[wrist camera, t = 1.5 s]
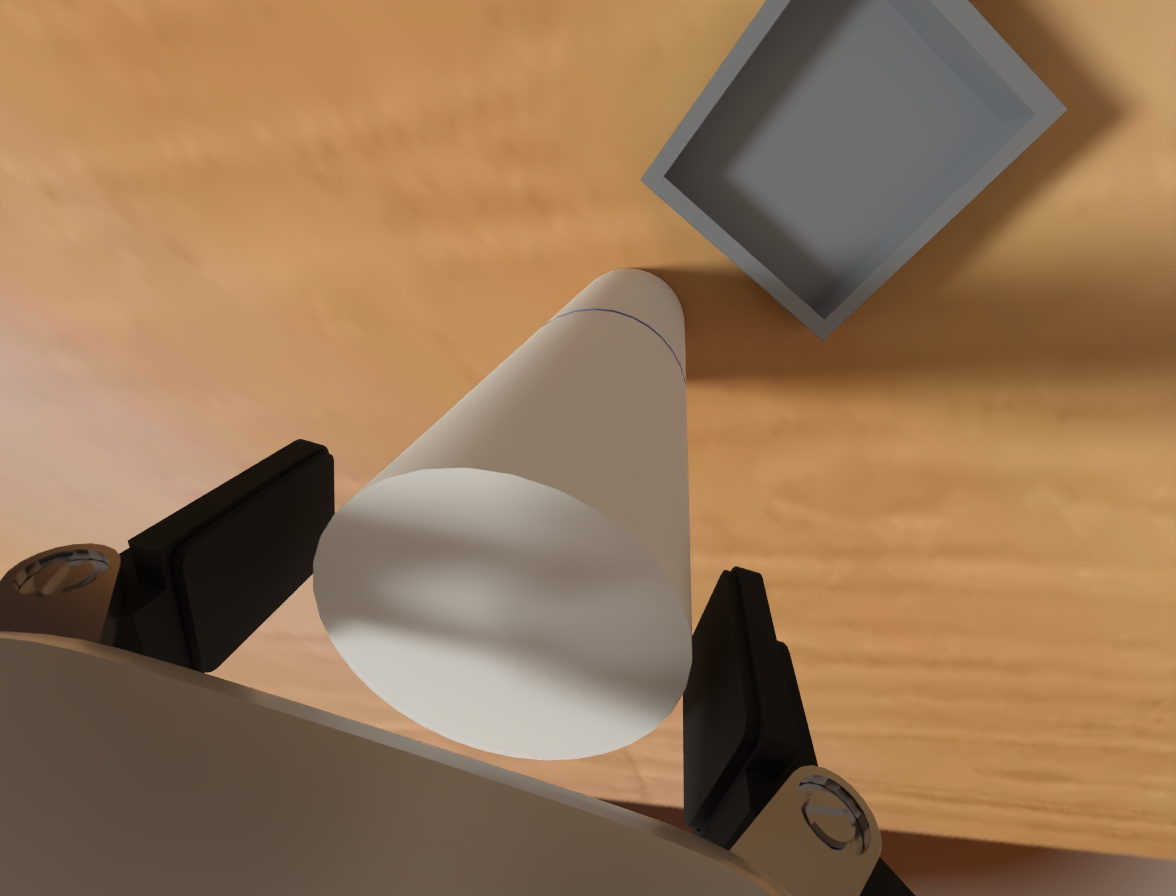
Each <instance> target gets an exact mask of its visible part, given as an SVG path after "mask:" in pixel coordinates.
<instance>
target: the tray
mask: <svg viewBox="0 0 1176 896" xmlns="http://www.w3.org/2000/svg"><path fill="white" fill-rule="evenodd" d="M1067 110H1068V109H1067V108H1066V107H1065V106H1064V105H1063V104H1062V102H1061V101H1060V100H1059V99H1058V98H1057V97H1056V96H1055V95H1054V94H1053V93H1052V91H1051V90H1050V89H1049V88H1048V87H1047V86H1046V85H1045V84H1044V83H1043V82H1042V81H1041V79H1040V78H1039V77H1038V76H1037V75H1036V74H1035V73H1034V72H1033V71H1032V70H1031V68H1030V67H1029V66H1028V65H1027V64H1026V63H1025V62H1024V61H1023V60H1022V59H1021V58H1020V56H1019V55H1018V54H1017V53H1016V52H1015V51H1014V50H1013V49H1012V48H1011V47H1010V45H1009V44H1008V43H1007V42H1006V41H1005V40H1004V39H1003V38H1002V37H1001V36H1000V35H999V33H998V32H997V31H996V30H995V29H994V28H993V27H992V26H991V25H990V24H989V22H988V21H987V20H986V19H985V18H984V17H983V16H982V15H981V14H980V13H979V12H978V10H977V9H976V8H975V7H974V6H973V5H972V4H971V3H970V2H969V1H968V0H766V2H765V3H764V5H763V6H762V7H761V9H760V10H759V12H758V13H757V15H756V16H755V17H754V19H753V20H752V22H751V23H750V25H749V26H748V27H747V29H746V30H745V32H744V33H743V35H742V36H741V37H740V39H739V40H738V42H737V43H736V45H735V46H734V47H733V49H732V50H731V52H730V53H729V54H728V56H727V57H726V59H725V60H724V62H723V63H722V64H721V66H720V67H719V69H718V70H717V72H716V73H715V74H714V76H713V77H712V79H711V80H710V82H709V83H708V84H707V86H706V87H705V89H704V90H703V92H702V93H701V94H700V96H699V97H698V99H697V100H696V102H695V103H694V104H693V106H692V107H691V109H690V110H689V112H688V113H687V114H686V116H685V117H684V119H683V120H682V122H681V123H680V124H679V126H678V127H677V129H676V130H675V132H674V133H673V134H672V136H671V137H670V139H669V140H668V141H667V143H666V144H665V146H664V147H663V149H662V150H661V151H660V153H659V154H658V156H657V157H656V159H655V160H654V161H653V163H652V164H651V166H650V167H649V169H648V170H647V171H646V173H645V174H644V176H643V177H642V179H641V181H642V182H643V183H644V184H645V185H646V186H647V187H649V188H650V189H651V190H652V191H653V192H654V193H655V194H657V195H658V196H659V197H660V198H661V199H662V200H663V201H665V202H666V203H667V204H668V205H669V206H670V207H671V208H672V209H674V210H675V211H676V212H677V213H678V214H679V215H680V216H682V217H683V218H684V219H685V220H686V221H687V222H688V223H689V224H691V225H692V226H693V227H694V228H695V229H696V230H697V231H699V232H700V233H701V234H702V235H703V236H704V237H705V238H706V239H708V240H709V241H710V242H711V243H712V244H713V245H714V246H716V247H717V248H718V249H719V250H720V251H721V252H722V253H724V254H725V255H726V256H727V257H728V258H729V259H730V260H731V261H733V262H734V263H735V264H736V265H737V266H738V267H739V268H741V269H742V270H743V271H744V272H745V273H746V274H747V275H748V276H750V277H751V278H752V279H753V280H754V281H755V282H756V283H758V284H759V285H760V286H761V287H762V288H763V289H764V290H766V291H767V292H768V293H769V294H770V295H771V296H772V297H773V298H775V299H776V300H777V301H778V302H779V303H780V304H781V305H783V306H784V307H785V308H786V309H787V310H788V311H789V312H790V313H792V314H793V315H794V316H795V317H796V318H797V319H798V320H800V321H801V322H802V323H803V324H804V325H805V326H806V327H808V328H809V329H810V330H811V331H812V332H813V333H814V334H815V335H817V336H818V337H819V338H820V339H821V340H822V341H824V340H825V339H826V338H827V337H828V336H829V335H830V334H831V333H832V332H833V331H834V330H835V329H836V328H837V327H839V326H840V325H841V324H842V323H843V322H844V321H845V320H846V319H847V318H848V317H849V316H850V315H851V314H852V313H853V312H854V311H855V310H856V309H858V308H859V307H860V306H861V305H862V304H863V303H864V302H865V301H866V300H867V299H868V298H869V297H870V296H871V295H872V294H873V293H874V292H875V291H877V290H878V289H879V288H880V287H881V286H882V285H883V284H884V283H885V282H886V281H887V280H888V279H889V278H890V277H891V276H892V275H893V274H894V273H896V272H897V271H898V270H899V269H900V268H901V267H902V266H903V265H904V264H905V263H906V262H907V261H908V260H909V259H910V258H911V257H912V256H914V255H915V254H916V253H917V252H918V251H919V250H920V249H921V248H922V247H923V246H924V245H925V244H926V243H927V242H928V241H929V240H930V239H931V238H933V237H934V236H935V235H936V234H937V233H938V232H939V231H940V230H941V229H942V228H943V227H944V226H945V225H946V224H947V223H948V222H949V221H950V220H952V219H953V218H954V217H955V216H956V215H957V214H958V213H959V212H960V211H961V210H962V209H963V208H964V207H965V206H966V205H967V204H968V203H969V202H971V201H972V200H973V199H974V198H975V197H976V196H977V195H978V194H979V193H980V192H981V191H982V190H983V189H984V188H985V187H986V186H987V185H988V184H990V183H991V182H992V181H993V180H994V179H995V178H996V177H997V176H998V175H999V174H1000V173H1001V172H1002V171H1003V170H1004V169H1005V168H1006V167H1007V166H1009V165H1010V164H1011V163H1012V162H1013V161H1014V160H1015V159H1016V158H1017V157H1018V156H1019V155H1020V154H1021V153H1022V152H1023V151H1024V150H1025V149H1026V148H1028V147H1029V146H1030V145H1031V144H1032V143H1033V142H1034V141H1035V140H1036V139H1037V138H1038V137H1039V136H1040V135H1041V134H1042V133H1043V132H1044V131H1045V130H1047V129H1048V128H1049V127H1050V126H1051V125H1052V124H1053V123H1054V122H1055V121H1056V120H1057V119H1058V118H1059V117H1060V116H1061V115H1062V114H1063V113H1064V112H1066V111H1067Z"/></svg>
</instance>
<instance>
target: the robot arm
mask: <svg viewBox="0 0 1176 896" xmlns="http://www.w3.org/2000/svg"><path fill="white" fill-rule="evenodd" d="M334 514H335V507H334V459H333V456H332V455H331V454H329V452H328V449H327V447H325V446H323V445H320V444H317V443H313V442H310V441H306V440H303V439H298V440H296V441H294V442H292V443H291V444H289V445H287V446H286V447H284V448H282V449H281V450H279V451H277V452H276V453H274V454H272V455H270V456H269V457H267V458H265V459H264V460H262V461H260V462H259V463H257V464H255V465H254V466H252V467H250V468H249V469H247V470H245V471H244V472H242V473H240V474H239V475H237V476H235V477H234V478H232V479H230V480H229V481H227V482H225V483H224V484H222V485H220V486H219V487H217V488H215V489H214V490H212V491H210V492H208V493H207V494H205V495H203V496H202V497H200V498H198V499H197V500H195V501H193V502H192V503H190V504H188V505H187V506H185V507H183V508H182V509H180V510H178V511H177V512H175V513H173V514H172V515H170V516H168V517H167V518H165V519H163V520H162V521H160V522H158V523H157V524H155V525H153V526H152V527H150V528H148V529H146V530H145V531H143V532H141V533H140V534H138V535H136V536H135V537H133V538H131V539H130V540H128V543H129V547H130V548H128V549H127V550H125V551H123V552H122V553H120V554H118V553H117V551H116V550H115V549H113V548H110V547H108V546H105V545H99V544H91V543H89V544H73V545H68V546H62V547H57V548H53V549H50V550H47V551H44V552H41V553H38V554H36V555H34V556H32V557H29V558H27V559H25V560H23V561H21V562H20V563H18V564H17V565H16V566H14V567H13V568H11V569H10V570H9V571H8V572H7V573H6V574H5V575H4V577H3V578H2V579H1V580H0V896H915V895H914V894H913V893H912V892H911V891H910V889H909V888H908V887H907V886H906V885H905V884H904V883H903V882H902V881H901V880H900V878H899V877H898V876H897V875H896V874H895V873H894V872H893V871H892V870H891V869H890V868H889V866H888V865H887V864H886V863H885V862H884V861H883V860H882V859H881V858H880V857H879V855H880V851H881V847H882V845H881V837H880V830H879V828H878V825H877V823H876V820H875V817H874V815H873V813H872V812H871V810H870V808H869V807H868V805H867V804H866V802H865V801H864V799H863V798H862V797H861V796H860V795H859V793H858V792H857V791H856V790H855V789H854V788H853V787H852V786H851V785H850V784H849V783H848V782H846V781H845V780H844V779H843V778H841V777H840V776H839V775H837V774H835V773H833V772H831V771H829V770H827V769H826V768H822V767H818V764H817V760H816V756H815V752H814V748H813V744H812V740H811V736H810V732H809V728H808V724H807V720H806V716H805V712H804V708H803V704H802V700H801V696H800V692H799V688H798V684H797V680H796V676H795V672H794V668H793V664H792V660H791V656H790V653H789V650H788V647H787V646H786V645H785V644H784V643H783V642H780V641H777V639H776V635H775V630H774V626H773V622H772V617H771V613H770V608H769V604H768V600H767V595H766V591H765V587H764V582H763V578H762V575H761V574H760V573H757V572H754V571H750V570H747V569H744V568H740V567H737V566H736V567H734V568H733V569H732V570H731V571H727V570H724V571H723V572H722V574H721V576H720V578H719V580H718V582H717V585H716V587H715V589H714V591H713V593H712V595H711V597H710V599H709V602H708V604H707V606H706V608H705V610H704V612H703V614H702V617H701V619H700V621H699V623H698V625H697V627H696V629H695V632H694V634H693V636H692V664H691V669H690V673H689V677H688V681H687V685H686V689H685V691H684V692H683V753H684V820H685V824H686V825H687V826H689V827H692V828H693V834H691V833H689V832H686V831H684V830H682V829H679V828H677V827H674V826H672V825H669V824H667V823H664V822H661V821H658V820H656V819H653V818H650V817H647V816H644V815H641V814H638V813H635V812H632V811H630V810H627V809H624V808H621V807H618V806H615V805H612V804H609V803H606V802H604V801H601V800H598V799H595V798H592V797H589V796H586V795H583V794H580V793H577V792H574V791H571V790H568V789H565V788H562V787H559V786H556V785H553V784H550V783H547V782H544V781H541V780H537V779H534V778H531V777H528V776H525V775H522V774H519V773H516V772H513V771H510V770H507V769H504V768H501V767H498V766H494V765H491V764H488V763H485V762H482V761H479V760H476V759H473V758H470V757H467V756H464V755H461V754H458V753H454V752H451V751H448V750H445V749H442V748H439V747H436V746H433V745H429V744H426V743H423V742H420V741H417V740H414V739H411V738H408V737H404V736H401V735H398V734H395V733H392V732H389V731H386V730H383V729H379V728H376V727H373V726H370V725H367V724H364V723H361V722H357V721H354V720H351V719H348V718H345V717H342V716H339V715H335V714H332V713H329V712H326V711H323V710H320V709H317V708H313V707H310V706H307V705H304V704H301V703H297V702H294V701H291V700H288V699H285V698H282V697H278V696H275V695H272V694H269V693H266V692H262V691H259V690H256V689H253V688H250V687H246V686H243V685H240V684H237V683H234V682H230V681H227V680H224V679H221V678H218V677H214V676H211V675H208V674H205V672H207V673H208V672H212V671H214V670H215V669H216V668H218V667H219V666H220V665H221V664H222V663H223V662H224V661H225V660H226V659H227V658H228V657H229V656H230V655H231V654H232V653H233V652H234V651H235V650H236V649H237V648H238V647H239V646H240V645H241V644H242V643H243V642H244V641H245V640H246V639H247V638H248V637H249V636H250V635H251V634H252V633H253V632H254V631H255V630H256V629H257V628H258V627H259V626H260V625H261V624H262V623H263V622H264V621H265V620H266V619H267V618H268V617H269V616H270V615H271V614H272V613H273V612H274V611H275V610H277V609H278V608H279V607H280V606H281V605H282V604H283V603H284V602H285V601H286V600H287V599H288V598H289V597H290V596H291V595H292V594H293V593H294V592H295V591H296V590H297V589H298V588H299V587H300V586H301V585H302V584H303V583H304V582H305V581H306V580H307V579H308V578H309V577H310V576H311V575H312V574H313V561H314V558H315V554H316V551H317V547H318V544H319V540H320V536H321V535H322V533H323V531H324V530H325V528H326V527H327V525H328V523H329V522H330V520H331V519H332V517H333V515H334Z"/></svg>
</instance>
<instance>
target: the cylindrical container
mask: <svg viewBox="0 0 1176 896" xmlns="http://www.w3.org/2000/svg"><path fill="white" fill-rule="evenodd" d="M313 591H314V595H315V599H316V603H317V607H318V611H319V615H320V618H321V620H322V622H323V624H324V626H325V628H326V630H327V632H328V635H329V637H330V639H331V641H332V643H333V645H334V646H335V648H336V649H337V650H338V652H339V653H340V654H341V656H342V657H343V659H344V660H345V661H346V663H347V664H348V665H349V667H350V668H351V669H352V671H353V672H354V673H355V674H356V675H357V676H358V677H359V678H360V679H361V680H362V681H363V682H364V683H365V684H366V685H367V686H368V687H369V688H370V689H371V690H372V691H373V692H374V693H376V694H377V695H378V696H379V697H381V698H382V699H383V700H384V701H386V702H387V703H388V704H389V705H391V706H392V707H393V708H395V709H396V710H397V711H399V712H401V713H402V714H404V715H405V716H407V717H409V718H410V719H412V720H413V721H415V722H417V723H418V724H420V725H421V726H423V727H425V728H428V729H430V730H432V731H434V732H436V733H438V734H440V735H442V736H444V737H446V738H448V739H451V740H454V741H456V742H459V743H462V744H465V745H468V746H471V747H474V748H476V749H479V750H483V751H487V752H492V753H496V754H501V755H505V756H510V757H516V758H527V759H538V760H564V759H579V758H584V757H590V756H595V755H600V754H605V753H608V752H611V751H613V750H616V749H619V748H621V747H624V746H627V745H630V744H632V743H633V742H635V741H637V740H638V739H640V738H642V737H643V736H645V735H647V734H648V733H650V732H652V731H653V730H654V729H655V728H656V727H657V726H658V725H659V724H660V723H661V722H662V721H663V720H664V719H665V718H666V717H667V716H669V715H670V714H671V713H672V711H673V709H674V708H675V706H676V704H677V703H678V701H679V699H680V698H681V696H682V694H683V692H684V691H685V689H686V685H687V681H688V677H689V673H690V669H691V664H692V621H691V573H690V525H689V476H688V440H687V404H686V351H685V323H684V314H683V310H682V306H681V304H680V302H679V300H678V298H677V295H676V294H675V293H674V291H673V290H672V289H671V287H670V286H669V285H668V284H667V283H665V282H664V281H663V280H662V279H661V278H659V277H657V276H655V275H654V274H652V273H649V272H646V271H643V270H640V269H631V268H625V269H617V270H613V271H610V272H608V273H605V274H603V275H601V276H600V277H598V278H596V279H595V280H593V281H592V282H591V283H590V284H589V285H588V286H587V287H586V288H585V289H584V290H582V291H581V292H580V293H579V294H578V295H577V296H576V297H575V298H574V299H572V300H571V301H570V302H569V303H568V304H567V305H566V306H565V307H564V308H562V309H561V310H560V311H559V312H558V313H557V314H556V315H555V316H554V317H552V318H551V319H550V320H549V321H548V322H547V323H546V324H545V325H543V326H542V327H541V328H540V329H539V330H538V331H537V332H536V333H535V334H533V335H532V336H531V337H530V338H529V339H528V340H527V341H526V342H525V343H523V344H522V345H521V346H520V347H519V348H518V349H517V350H516V351H515V352H513V353H512V354H511V355H510V356H509V357H508V358H507V359H506V360H505V361H504V362H502V363H501V364H500V365H499V366H498V367H497V368H496V369H495V370H494V371H492V372H491V373H490V374H489V375H488V376H487V377H486V378H485V379H484V380H482V381H481V382H480V383H479V384H478V385H477V386H476V387H475V388H474V389H472V390H471V391H470V392H469V393H468V394H467V395H466V396H465V397H464V398H462V399H461V400H460V401H459V402H458V403H457V404H456V405H455V406H454V407H452V408H451V409H450V410H449V411H448V412H447V413H446V414H445V415H444V416H442V417H441V418H440V419H439V420H438V421H437V422H436V423H435V424H434V425H433V426H431V427H430V428H429V429H428V430H427V431H426V432H425V433H424V434H423V435H421V436H420V437H419V438H418V439H417V440H416V441H415V442H414V443H412V444H411V445H410V446H409V447H408V448H407V449H406V450H405V451H404V452H402V453H401V454H400V455H399V456H398V457H397V458H396V459H395V460H394V461H392V462H391V463H390V464H389V465H388V466H387V467H386V468H385V469H383V470H382V471H381V472H380V473H379V474H378V475H377V476H376V477H375V478H373V479H372V480H371V481H370V482H369V483H368V484H367V485H366V486H365V487H363V488H362V489H361V490H360V491H359V492H358V493H357V494H356V495H354V496H353V497H352V498H351V499H350V500H349V501H348V502H347V503H346V504H345V505H344V506H342V507H341V508H340V509H339V510H338V511H337V512H336V513H335V514H334V515H333V517H332V519H331V520H330V522H329V523H328V525H327V527H326V528H325V530H324V531H323V533H322V535H321V536H320V540H319V544H318V547H317V551H316V554H315V558H314V561H313Z"/></svg>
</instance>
